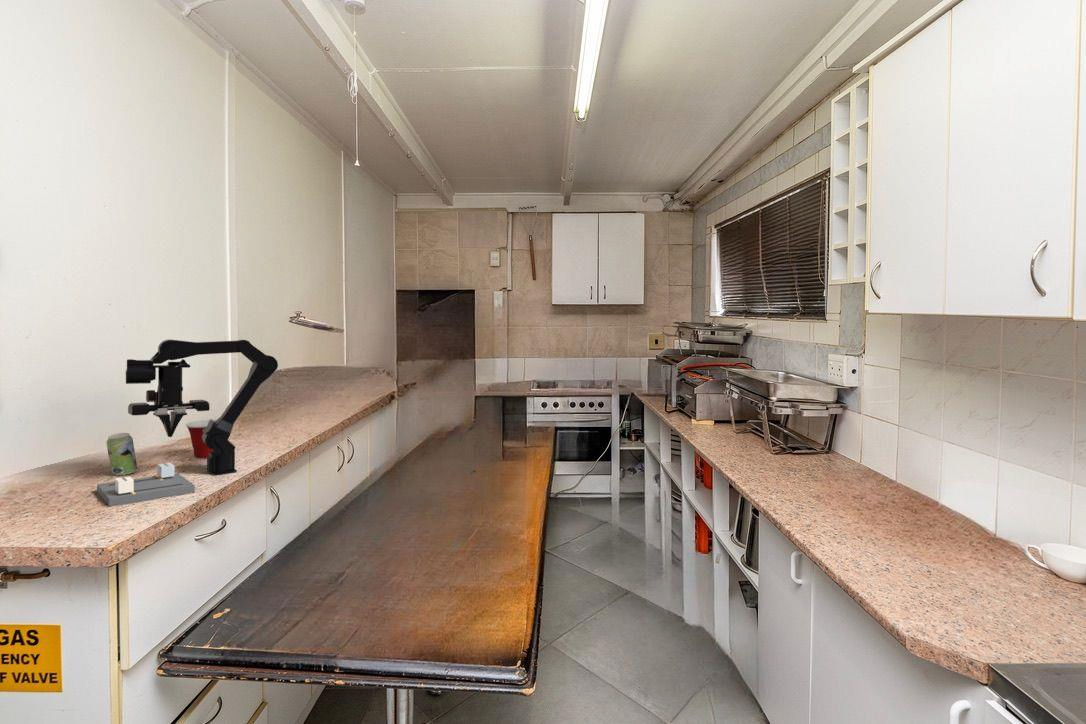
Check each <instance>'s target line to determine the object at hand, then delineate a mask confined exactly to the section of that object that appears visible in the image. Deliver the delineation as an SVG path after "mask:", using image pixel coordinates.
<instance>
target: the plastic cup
mask: <svg viewBox="0 0 1086 724" xmlns="http://www.w3.org/2000/svg"><path fill="white" fill-rule="evenodd" d="M210 419H211V420H213V421H214V422H215V421H216V420H217V419H218V418H216V419H215V418H214V419H213V418H210ZM210 419H207V418H206V419H200V420H193V421H190V422H187V423H186V424H185V427H186V428H187V430H188V432H189V436H190V439H191V445H192V449H193V455H194V458H195V457H196V458H195V459H207V458H208V457H209V452H213V451H212V450H211V449H210V448H209V447H207V445H206V444H205V443H204V442H203V439H202V435H203V433H204V432H203V431H202V430H203V429H205V428H206V427H207V425H208V423H209V421H210Z"/></svg>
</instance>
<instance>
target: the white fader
mask: <svg viewBox="0 0 1086 724" xmlns="http://www.w3.org/2000/svg"><path fill="white" fill-rule="evenodd" d="M174 474H175V465H174V464H173V463H171V462H166V463H165V462H164V463H157V476H160V477H161V478H165V477H172V476H174Z"/></svg>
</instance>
